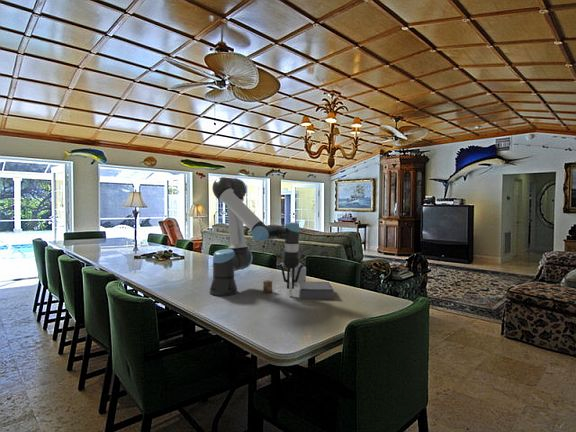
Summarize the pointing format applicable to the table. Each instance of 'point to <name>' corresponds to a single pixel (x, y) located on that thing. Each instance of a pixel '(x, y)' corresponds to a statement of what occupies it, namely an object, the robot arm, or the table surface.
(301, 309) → the table surface
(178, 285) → the table surface
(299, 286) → the tray
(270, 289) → the brown rounded cylinder
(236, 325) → the table surface
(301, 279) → the mug
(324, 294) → the housing
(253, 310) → the table surface
